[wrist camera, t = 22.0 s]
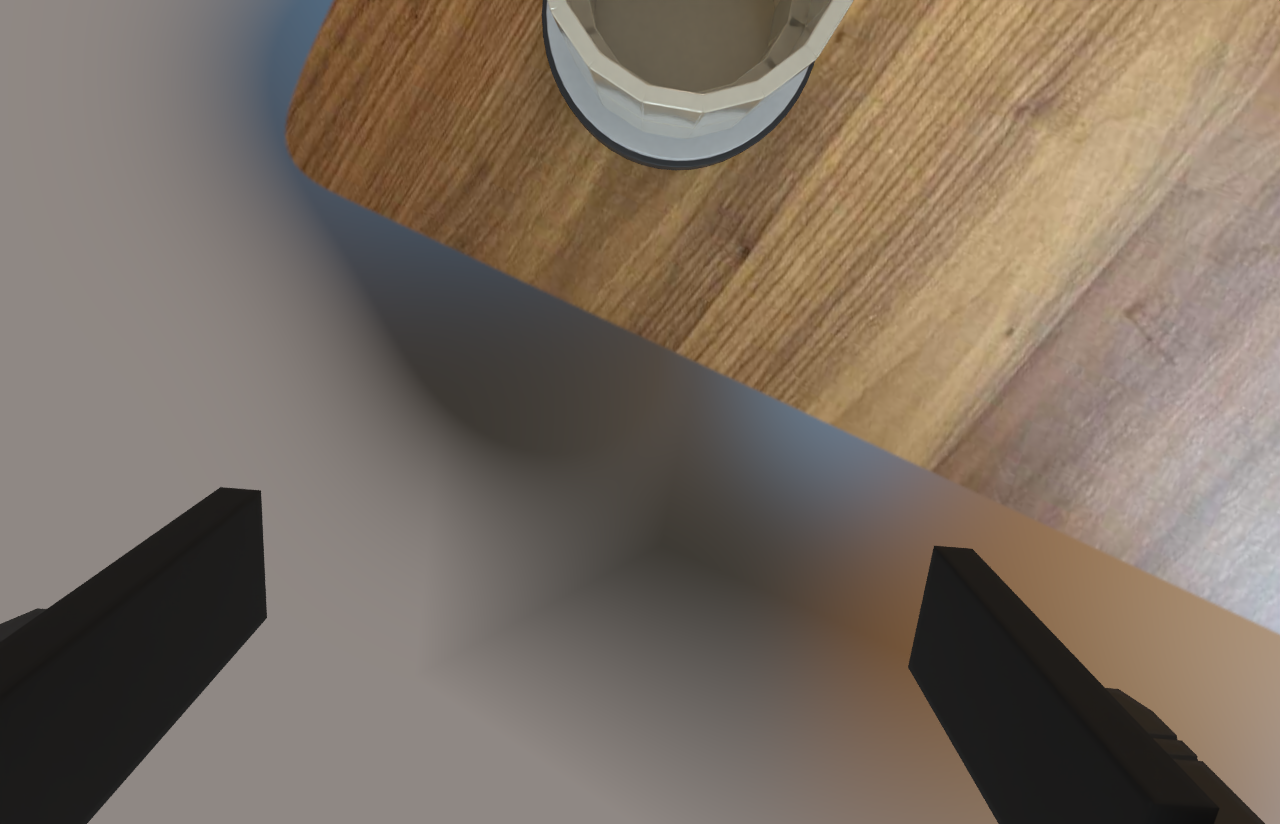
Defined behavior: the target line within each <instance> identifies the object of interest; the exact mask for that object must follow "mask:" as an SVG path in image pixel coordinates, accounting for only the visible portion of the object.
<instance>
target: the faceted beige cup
mask: <svg viewBox="0 0 1280 824" xmlns="http://www.w3.org/2000/svg"><path fill="white" fill-rule="evenodd" d="M852 2H853V0H548V5H549V9H550V11H551V13H552V15H553V18H554V20H555V22H556V24H557V26H558V28H559V30H560V32H561V34H562V37H563V39H564V41H565V43H566V45H567V47H568V49H569V51H570V54H571V56H572V58H573V60H574V62H575V64H576V66H577V68H578V70H579V71H580V73H581V74H582V76H583V77H584V79H585V80H586V81H587V83H588V84H589V86H590V87H591V89H592V90H593V92H594V93H595V95H596V96H597V97H598V99H599V100H600V102H601V103H602V105H603V106H604V107H605V108H607V109H608V110H610V111H611V112H613V113H614V114H616V115H617V116H619V117H620V118H622V119H623V120H625V121H626V122H628V123H629V124H631V125H633V126H634V127H636V128H637V129H639V130H640V131H643V132H646V133H652V134H658V135H663V136H669V137H675V138H681V139H691V138H695V137H699V136H703V135H707V134H711V133H715V132H719V131H723V130H727V129H730V128H732V127H734V126H735V125H736V124H738V123H739V122H740V121H742V120H743V119H744V118H746V117H747V116H748V115H750V114H751V113H752V112H754V111H755V110H756V109H758V108H759V107H760V106H762V105H763V104H764V103H766V102H767V101H768V100H769V99H771V98H772V97H773V96H774V95H775V94H776V93H778V92H779V91H780V90H781V89H782V88H783V87H785V86H786V85H787V84H788V83H789V82H790V81H792V80H793V79H794V78H795V77H796V76H797V75H799V74H800V73H801V72H802V71H803V70H804V69H806V68H807V67H808V66H809V65H810V64H811V63H813V62H814V61H815V60H816V59H817V57H819V55H820V54H821V52H822V50H823V49H824V47H825V46H826V44H827V42H828V41H829V39H830V38H831V36H832V34H833V33H834V31H835V30H836V28H837V26H838V25H839V23H840V22H841V20H842V18H843V17H844V15H845V14H846V12H847V10H848V9H849V7H850V6H851V4H852Z"/></svg>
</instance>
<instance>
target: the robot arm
mask: <svg viewBox="0 0 1280 824" xmlns="http://www.w3.org/2000/svg"><path fill="white" fill-rule="evenodd" d="M266 618H267V612H266V589H265V568H264V546H263V525H262V504H261V491H259V490H246V489H235V488H223V487H220V488H219V489H217V490H216V491H215V492H213V493H212V494H210V495H209V496H208V497H206V498H205V499H203V500H202V501H200V502H199V503H198V504H196V505H195V506H193V507H192V508H190V509H189V510H187V511H186V512H185V513H183V514H182V515H180V516H179V517H178V518H176V519H175V520H173V521H172V522H170V523H169V524H168V525H166V526H165V527H163V528H162V529H160V530H159V531H158V532H156V533H155V534H153V535H152V536H150V537H149V538H148V539H146V540H145V541H143V542H142V543H141V544H139V545H138V546H136V547H135V548H134V549H132V550H131V551H129V552H128V553H126V554H125V555H124V556H122V557H121V558H119V559H118V560H116V561H115V562H114V563H112V564H111V565H109V566H108V567H106V568H105V569H103V570H102V571H101V572H99V573H98V574H97V575H95V576H94V577H92V578H91V579H89V580H88V581H86V582H85V583H84V584H82V585H81V586H79V587H78V588H76V589H75V590H74V591H72V592H71V593H70V594H68V595H66V596H65V597H64V598H62V599H61V600H59V601H58V602H56V603H55V604H54V605H52V606H51V607H49V608H48V609H35V610H33V611H30V612H28V613H26V614H23V615H21V616H18V617H16V618H14V619H11V620H9V621H7V622H4V623H2V624H0V824H87V823H88V822H89V821H90V820H91V818H92V817H93V816H94V815H95V814H96V813H97V812H98V810H99V809H100V808H101V807H102V806H103V805H104V803H106V801H107V800H108V799H109V798H110V797H111V796H112V794H113V793H114V792H115V791H116V790H117V788H119V786H120V785H121V784H122V783H123V782H124V781H125V780H126V778H127V777H128V776H129V775H130V774H131V773H132V772H133V770H134V769H135V768H136V767H137V766H138V765H139V764H140V762H141V761H142V760H143V759H144V758H145V757H146V756H147V754H148V753H149V752H150V751H151V750H152V749H153V748H154V746H155V745H156V744H157V743H158V742H159V741H160V740H161V738H162V737H163V736H164V735H165V734H166V733H167V732H168V730H169V729H170V728H171V727H172V726H173V725H174V724H175V722H176V721H177V720H178V719H179V718H180V717H181V716H182V714H183V713H184V712H185V711H186V710H187V709H188V707H189V706H190V705H191V704H192V703H193V702H194V701H195V699H196V698H197V697H198V696H199V695H200V694H201V693H202V691H203V690H204V689H205V688H206V687H207V686H208V685H209V683H210V682H211V681H212V680H213V679H214V678H215V677H216V675H217V674H218V673H219V672H220V670H222V669H223V667H224V666H225V665H226V664H227V663H228V662H229V661H230V659H231V658H232V657H233V656H234V655H235V654H236V653H237V651H238V650H239V649H240V648H241V647H242V645H244V643H245V642H246V641H247V640H248V639H249V638H250V636H251V635H252V634H253V633H254V632H255V631H256V630H257V628H258V627H259V626H260V625H261V624H262V623H263V622H264V621H265V619H266ZM908 668H909V670H910V671H911V673H912V675H913V676H914V678H915V680H916V681H917V683H918V685H919V687H920V688H921V690H922V692H923V693H924V695H925V697H926V699H927V701H928V702H929V704H930V706H931V708H932V709H933V711H934V713H935V714H936V716H937V718H938V720H939V721H940V723H941V725H942V727H943V728H944V730H945V732H946V734H947V735H948V737H949V739H950V740H951V742H952V744H953V746H954V747H955V749H956V751H957V753H958V754H959V756H960V758H961V759H962V761H963V763H964V765H965V766H966V768H967V770H968V772H969V773H970V775H971V777H972V778H973V780H974V782H975V784H976V785H977V787H978V788H979V790H980V792H981V794H982V796H983V798H984V799H985V801H986V803H987V804H988V806H989V808H990V810H991V811H992V813H993V815H994V817H995V818H996V820H997V822H998V823H999V824H1265V823H1264V822H1263V821H1262V820H1261V819H1260V818H1259V817H1258V816H1257V815H1256V814H1255V813H1254V812H1253V811H1252V810H1251V809H1250V808H1249V807H1248V806H1247V805H1246V804H1245V803H1244V802H1243V801H1242V800H1241V799H1240V798H1239V797H1238V796H1237V795H1236V794H1235V793H1234V792H1233V791H1232V790H1231V789H1230V788H1229V787H1228V786H1227V785H1226V784H1225V783H1224V782H1223V781H1222V780H1221V779H1220V778H1219V777H1218V776H1217V775H1216V774H1215V773H1214V772H1213V771H1212V770H1211V769H1210V768H1209V767H1207V765H1206V764H1205V763H1204V762H1203V761H1198V759H1197V755H1196V754H1195V753H1194V752H1193V751H1192V750H1190V748H1189V747H1188V746H1187V745H1186V744H1185V743H1184V742H1183V741H1179V740H1177V735H1176V734H1175V733H1174V732H1172V730H1171V729H1170V728H1169V727H1168V726H1167V725H1165V723H1164V722H1163V721H1162V720H1161V719H1159V717H1157V715H1156V714H1155V713H1154V712H1153V711H1151V710H1150V709H1148V708H1147V707H1145V706H1144V705H1142V704H1141V703H1139V702H1137V701H1136V700H1134V699H1133V698H1131V697H1130V696H1128V695H1127V694H1125V693H1124V692H1122V691H1121V690H1119V689H1111V688H1104V687H1103V685H1101V683H1100V682H1099V681H1098V680H1097V679H1096V678H1095V677H1094V676H1093V675H1092V674H1091V673H1090V672H1089V671H1088V670H1087V669H1086V668H1085V666H1084V665H1083V664H1082V663H1081V662H1079V660H1078V659H1077V658H1076V657H1075V656H1074V655H1073V654H1072V653H1071V652H1070V651H1069V650H1068V649H1067V648H1066V647H1065V646H1064V644H1063V643H1062V642H1061V641H1060V640H1059V639H1058V638H1057V637H1056V636H1055V635H1054V634H1053V633H1052V632H1051V631H1050V630H1049V629H1048V628H1047V627H1046V626H1045V625H1044V624H1043V623H1042V621H1040V620H1039V618H1038V617H1037V616H1036V615H1035V614H1034V613H1033V612H1032V611H1031V610H1030V609H1029V608H1028V607H1027V606H1026V605H1025V604H1024V603H1023V601H1022V600H1021V599H1020V598H1019V597H1018V596H1017V595H1016V594H1015V593H1014V592H1013V591H1012V590H1011V589H1010V588H1009V587H1008V586H1007V585H1006V584H1005V583H1004V582H1003V581H1002V580H1001V579H1000V577H999V576H998V575H997V574H996V573H995V572H994V571H993V570H992V569H991V568H990V567H989V566H988V565H987V564H986V563H985V562H984V561H983V560H982V559H981V557H980V556H979V555H977V553H976V552H975V551H974V550H973V549H968V548H956V547H943V546H934V549H933V553H932V558H931V563H930V567H929V572H928V577H927V581H926V586H925V591H924V595H923V601H922V605H921V609H920V614H919V619H918V623H917V628H916V633H915V637H914V642H913V647H912V652H911V657H910V661H909V665H908Z"/></svg>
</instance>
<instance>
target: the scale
mask: <svg viewBox="0 0 1280 824" xmlns="http://www.w3.org/2000/svg"><path fill="white" fill-rule="evenodd" d="M542 25H543V38H544V43H545V49H546V54H547V58H548V61H549V65H550V68H551V71H552V74H553V77H554V79H555V81H556V83H557V85H558V88H559V90H560V92H561V94H562V95H563V97H564V99H565V100H566V102H567V104H568V105H569V107H570V109H571V110H572V111H573V113H574V114H575V115H576V117H577V118H578V119H579V120H580V122H581V123H582V124H583V125H584V127H585V128H586V129H587V130H588V131H589V132H590V133H591V134H592V135H593V136H594V137H595V138H596V139H597V140H598V141H600V142H601V143H602V144H604V145H605V146H606V147H608V148H609V149H610V150H612V151H613V152H615V153H617V154H619V155H621V156H622V157H624V158H626V159H628V160H631V161H633V162H636V163H639V164H641V165H645V166H649V167H653V168H657V169H667V170H691V169H697V168H702V167H707V166H711V165H714V164H717V163H720V162H723V161H725V160H727V159H729V158H731V157H733V156H736V155H738V154H739V153H741V152H743V151H745V150H746V149H748V148H749V147H751V146H752V145H754V144H755V143H757V142H759V141H760V140H761V139H762V138H763V137H765V136H766V135H767V134H768V133H769V132H771V131H772V130H773V129H774V128H775V127H776V126H777V125H778V124H779V123H780V121H781V120H782V119H783V118H784V117H785V116H786V115H787V113H788V112H789V111H790V109H791V108H792V106H793V105H794V104H795V102H796V101H797V99H798V98H799V96H800V94H801V92H802V90H803V88H804V87H805V85H806V83H807V80H808V78H809V75H810V73H811V70H812V68H813V65H814V62H815V61H814V62H813V63H811V64H810V65H809V66H808V67H807V68H806V69H804V70H803V71H802V72H801V73H800V74H799V75H797V76H796V77H795V78H794V79H793V80H792V81H790V82H789V83H788V84H787V85H786V86H785V87H783V88H782V89H781V90H780V91H779V92H778V93H776V94H775V95H774V96H773V97H772V98H771V99H769V100H768V101H767V102H766V103H764V104H763V105H762V106H760V107H759V108H758V109H756V110H755V111H754V112H752V113H751V114H750V115H748V116H747V117H746V118H744V119H743V120H742V121H740V122H739V123H738V124H736V125H735V126H734V127H732V128H730V129H727V130H723V131H719V132H715V133H711V134H707V135H703V136H699V137H695V138H691V139H681V138H675V137H669V136H663V135H658V134H652V133H646V132H643V131H640V130H639V129H637V128H636V127H634V126H633V125H631V124H629V123H628V122H626V121H625V120H623V119H622V118H620V117H619V116H617V115H616V114H614V113H613V112H611V111H610V110H608V109H607V108H605V107H604V106H603V105H602V103H601V102H600V100H599V99H598V97H597V96H596V95H595V93H594V92H593V90H592V89H591V87H590V86H589V84H588V83H587V81H586V80H585V79H584V77H583V76H582V74H581V73H580V71H579V70H578V68H577V66H576V64H575V62H574V60H573V58H572V56H571V54H570V51H569V49H568V47H567V45H566V43H565V41H564V39H563V37H562V34H561V32H560V30H559V28H558V26H557V24H556V22H555V20H554V18H553V15H552V13H551V11H550V9H549V5H548V0H543V7H542Z"/></svg>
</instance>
